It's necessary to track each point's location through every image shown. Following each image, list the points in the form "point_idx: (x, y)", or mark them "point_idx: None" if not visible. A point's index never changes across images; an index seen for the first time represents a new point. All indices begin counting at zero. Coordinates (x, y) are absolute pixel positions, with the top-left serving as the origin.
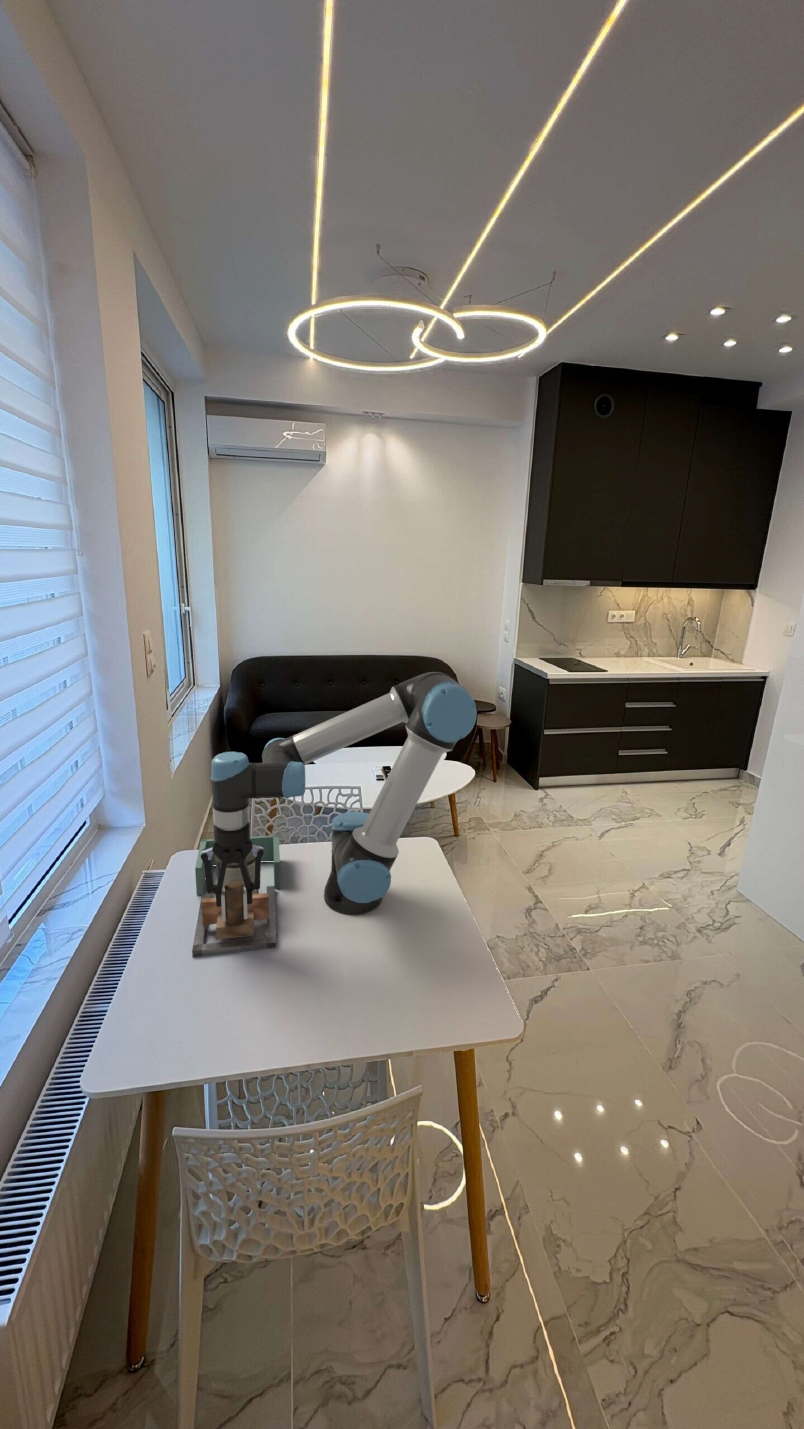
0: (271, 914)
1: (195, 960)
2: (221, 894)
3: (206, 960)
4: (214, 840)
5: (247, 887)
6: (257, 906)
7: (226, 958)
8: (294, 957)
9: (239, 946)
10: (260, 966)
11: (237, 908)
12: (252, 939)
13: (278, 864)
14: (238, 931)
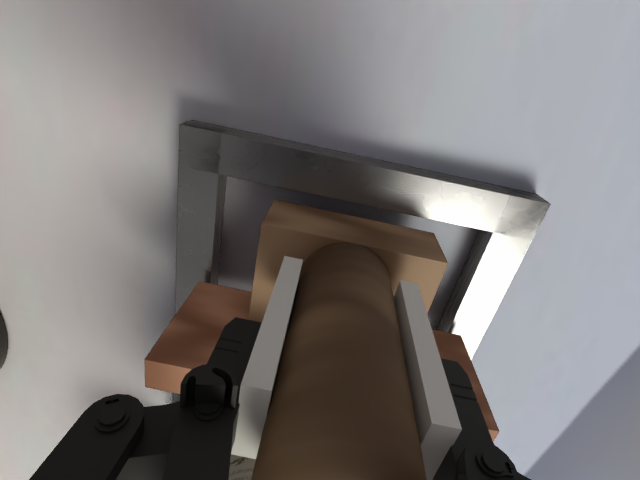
0: None
1: (532, 166)
2: (451, 443)
3: (490, 149)
4: None
5: (209, 445)
6: None
7: (408, 130)
8: (112, 18)
9: (346, 159)
10: (274, 9)
11: (333, 305)
12: (282, 185)
13: None
14: (338, 224)
